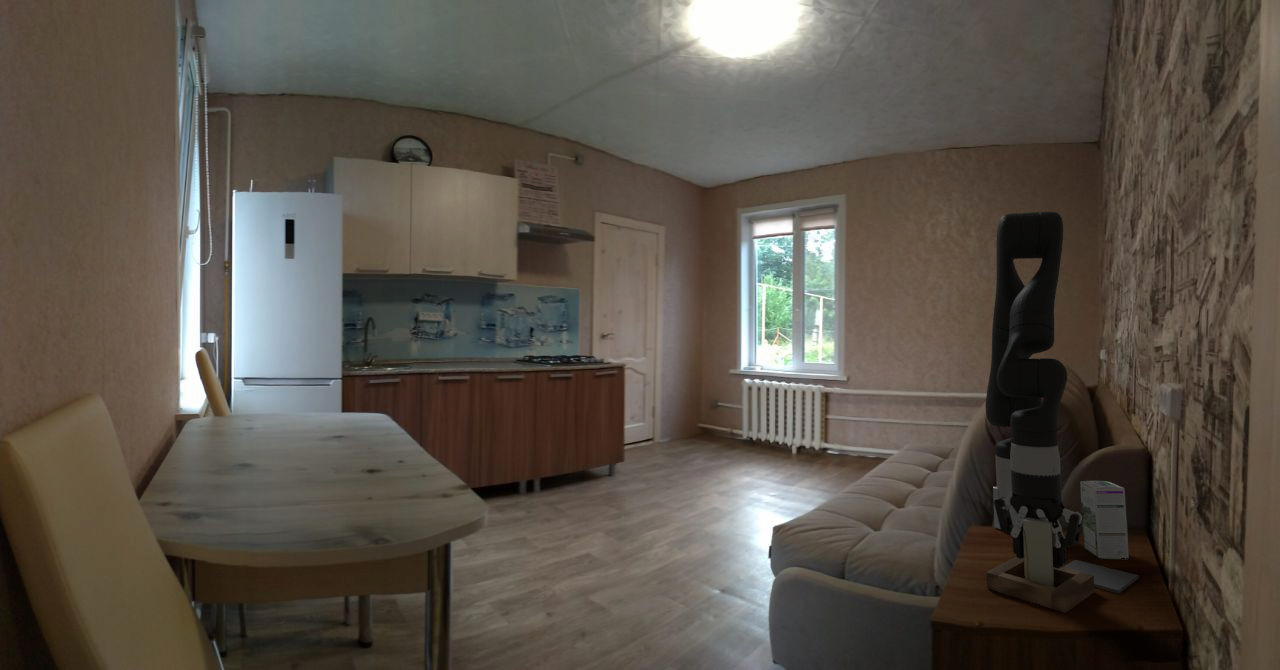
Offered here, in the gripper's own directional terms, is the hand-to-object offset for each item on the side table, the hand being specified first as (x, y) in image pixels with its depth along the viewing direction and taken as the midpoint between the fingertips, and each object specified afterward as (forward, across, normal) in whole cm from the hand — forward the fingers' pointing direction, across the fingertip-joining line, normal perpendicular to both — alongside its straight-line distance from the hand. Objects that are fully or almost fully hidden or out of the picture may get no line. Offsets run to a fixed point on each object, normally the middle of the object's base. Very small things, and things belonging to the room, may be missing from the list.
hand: (1039, 561), depth 107 cm
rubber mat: (+5, -4, -13) cm, 15 cm away
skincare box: (+4, 0, 0) cm, 4 cm away
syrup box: (+5, -1, -28) cm, 28 cm away
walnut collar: (+5, 0, 0) cm, 5 cm away
